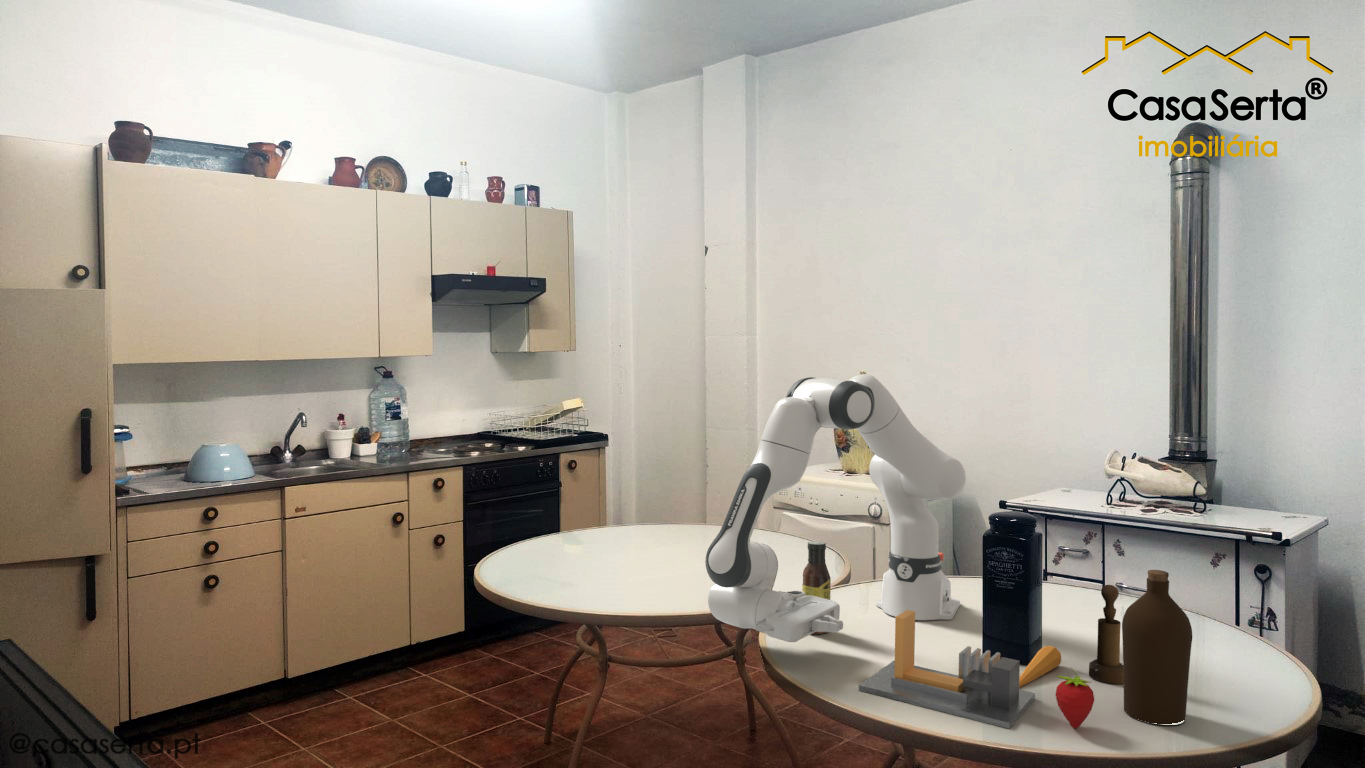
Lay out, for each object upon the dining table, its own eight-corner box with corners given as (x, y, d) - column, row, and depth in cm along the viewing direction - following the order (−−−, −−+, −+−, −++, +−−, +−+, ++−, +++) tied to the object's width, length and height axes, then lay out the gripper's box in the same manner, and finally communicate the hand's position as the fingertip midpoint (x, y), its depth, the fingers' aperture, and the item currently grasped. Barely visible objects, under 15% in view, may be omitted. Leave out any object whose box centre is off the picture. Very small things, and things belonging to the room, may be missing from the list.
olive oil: (1142, 728, 145) (1146, 580, 144) (1107, 703, 156) (1111, 564, 155) (1203, 727, 146) (1208, 579, 145) (1165, 702, 156) (1169, 564, 155)
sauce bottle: (829, 636, 191) (830, 546, 190) (800, 634, 192) (801, 545, 192) (830, 627, 197) (831, 540, 197) (802, 625, 199) (803, 539, 198)
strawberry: (1051, 732, 143) (1053, 672, 143) (1057, 716, 150) (1058, 658, 150) (1091, 740, 140) (1093, 679, 140) (1095, 723, 147) (1096, 664, 147)
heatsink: (893, 665, 173) (894, 625, 173) (1035, 698, 157) (1036, 654, 157) (858, 690, 161) (859, 647, 160) (1009, 728, 145) (1010, 681, 144)
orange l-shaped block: (906, 672, 166) (907, 609, 166) (966, 686, 160) (967, 621, 159) (894, 680, 162) (895, 617, 162) (956, 695, 155) (957, 629, 155)
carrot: (1047, 666, 176) (1038, 644, 177) (1068, 663, 173) (1059, 641, 174) (1005, 704, 162) (995, 680, 163) (1027, 701, 159) (1017, 677, 160)
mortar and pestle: (1128, 676, 169) (1130, 584, 168) (1125, 687, 163) (1128, 592, 163) (1090, 669, 172) (1092, 579, 172) (1087, 680, 167) (1089, 586, 166)
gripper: (752, 609, 171) (815, 623, 163) (802, 588, 187) (862, 600, 179) (751, 641, 171) (814, 656, 163) (801, 617, 187) (861, 630, 179)
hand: (840, 627), depth 171 cm, fingers closed
